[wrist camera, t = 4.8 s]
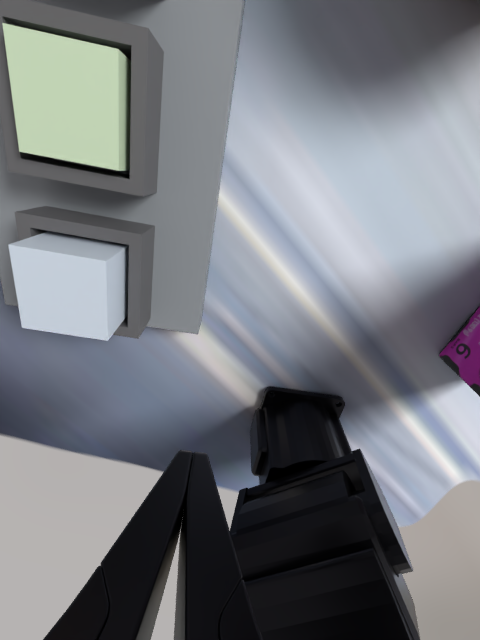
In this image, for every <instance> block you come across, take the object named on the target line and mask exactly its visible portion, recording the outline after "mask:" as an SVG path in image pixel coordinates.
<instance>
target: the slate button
mask: <svg viewBox="0 0 480 640" xmlns="http://www.w3.org/2000/svg"><path fill="white" fill-rule="evenodd" d="M8 246H9V252H10V258H11V264H12V270H13V276H14V282H15V288H16V294H17V300H18V306H19V312H20V318H21V324H22V328H26V329H33V330H40V331H46V332H53V333H60V334H66V335H73V336H80V337H86V338H93V339H100V340H106V341H108V340H109V339H110V337H111V336H112V335H113V333H114V332H115V331H116V329H117V328H118V327H119V326H120V324H121V323H122V322H123V320H124V319H125V318H126V316H127V315H128V273H129V245H126V244H120V243H114V242H108V241H103V240H97V239H91V238H86V237H80V236H74V235H69V234H63V233H57V232H51V231H48V232H45V233H42V234H39V235H36V236H33V237H30V238H27V239H24V240H20V241H17V242H14V243H11V244H8Z"/></svg>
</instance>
